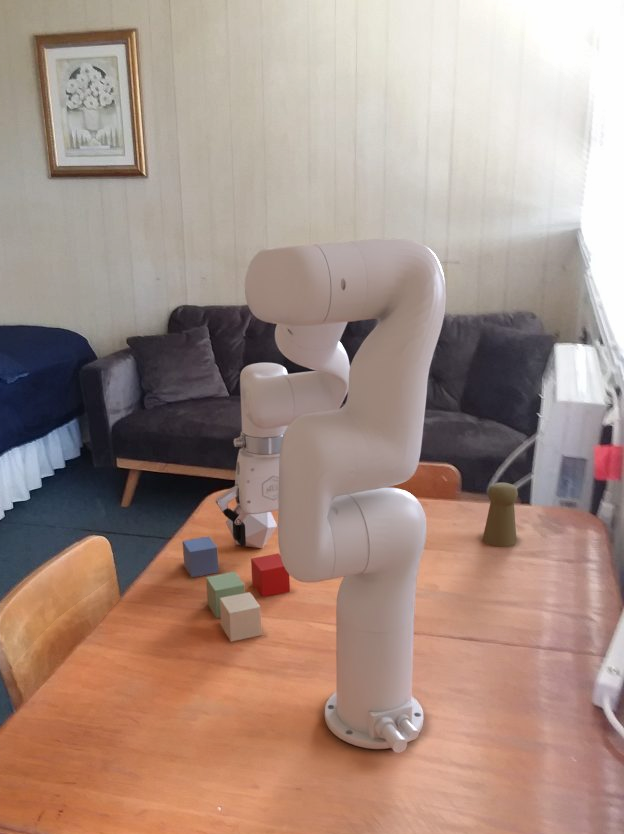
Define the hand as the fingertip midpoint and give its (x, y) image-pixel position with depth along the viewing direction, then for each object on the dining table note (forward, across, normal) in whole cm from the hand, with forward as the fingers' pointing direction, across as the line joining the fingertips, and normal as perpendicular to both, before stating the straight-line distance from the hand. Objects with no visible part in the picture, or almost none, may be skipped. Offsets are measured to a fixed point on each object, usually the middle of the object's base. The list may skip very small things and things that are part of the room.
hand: (268, 537), depth 140 cm
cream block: (+9, -9, -12) cm, 17 cm away
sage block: (+9, -9, -4) cm, 13 cm away
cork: (+9, +46, 0) cm, 47 cm away
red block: (+9, 0, -1) cm, 9 cm away
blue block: (+9, -9, +11) cm, 17 cm away
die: (+10, +3, +17) cm, 20 cm away
